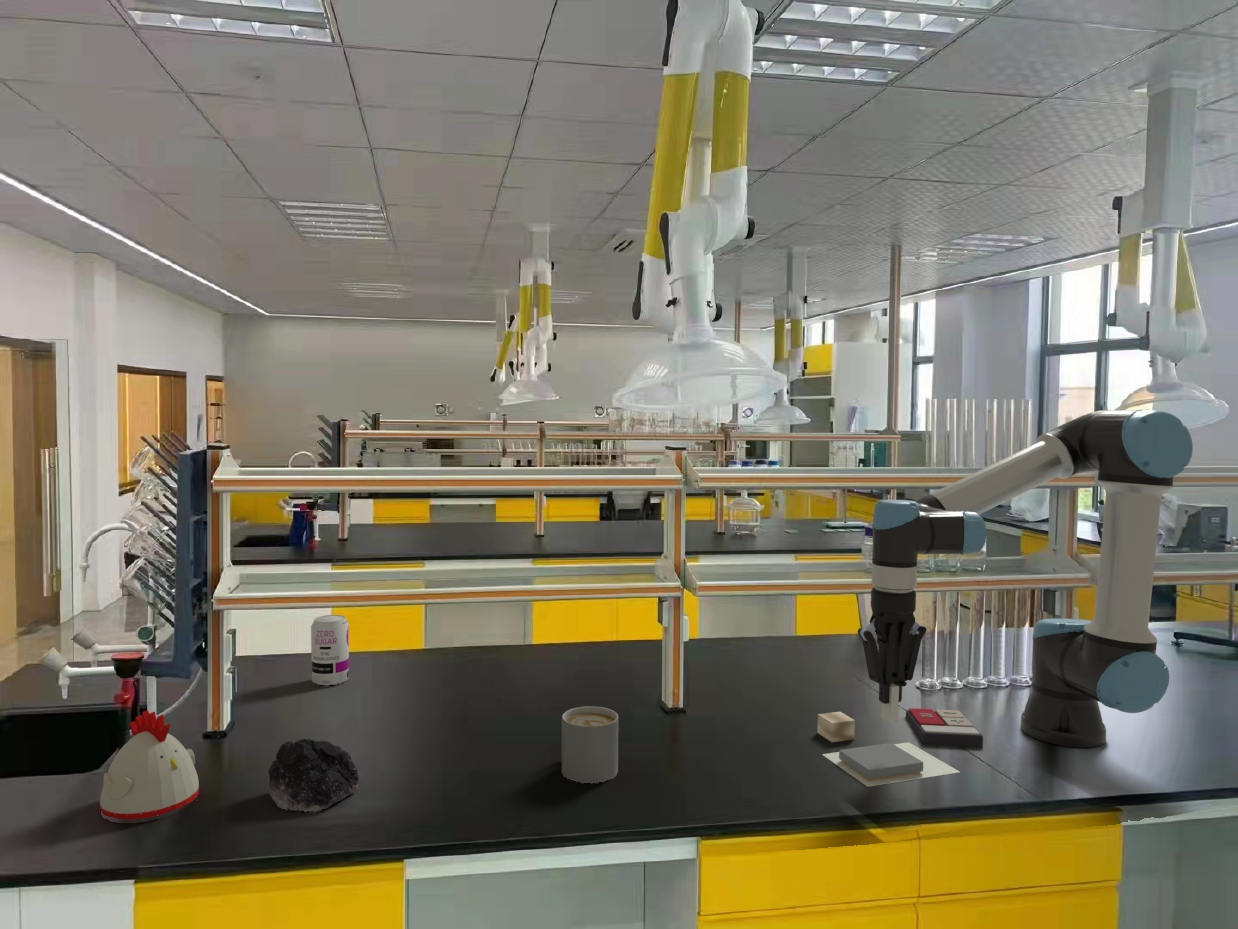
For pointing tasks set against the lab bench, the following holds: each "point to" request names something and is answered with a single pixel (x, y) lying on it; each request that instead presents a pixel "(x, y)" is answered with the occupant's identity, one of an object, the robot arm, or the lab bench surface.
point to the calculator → (944, 728)
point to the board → (930, 769)
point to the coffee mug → (590, 744)
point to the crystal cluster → (311, 775)
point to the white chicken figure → (149, 773)
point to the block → (836, 726)
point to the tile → (880, 761)
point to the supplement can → (330, 649)
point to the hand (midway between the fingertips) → (889, 720)
